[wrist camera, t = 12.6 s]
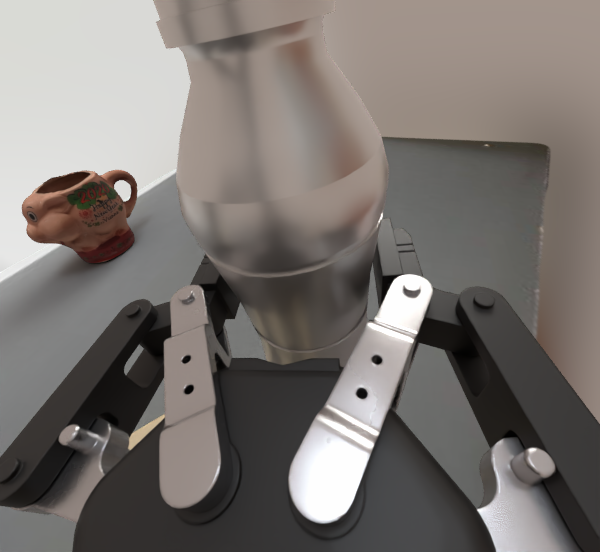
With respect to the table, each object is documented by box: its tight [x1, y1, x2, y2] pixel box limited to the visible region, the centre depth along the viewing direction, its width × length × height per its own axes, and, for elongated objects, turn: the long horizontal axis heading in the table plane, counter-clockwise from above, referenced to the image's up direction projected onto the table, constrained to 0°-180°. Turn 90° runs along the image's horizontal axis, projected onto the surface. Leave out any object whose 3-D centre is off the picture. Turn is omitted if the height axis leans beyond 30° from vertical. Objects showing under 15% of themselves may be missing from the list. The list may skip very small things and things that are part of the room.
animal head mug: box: [22, 170, 137, 263], centre depth 52 cm, size 20×12×14 cm, turn 153°
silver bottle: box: [153, 0, 389, 367], centre depth 12 cm, size 6×7×20 cm
